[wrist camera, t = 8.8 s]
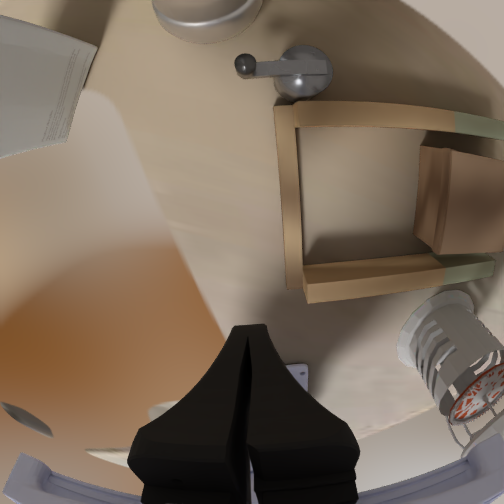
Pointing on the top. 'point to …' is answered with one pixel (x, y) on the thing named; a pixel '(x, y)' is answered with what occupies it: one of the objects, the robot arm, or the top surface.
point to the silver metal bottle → (206, 18)
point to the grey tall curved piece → (455, 361)
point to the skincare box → (38, 84)
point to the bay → (379, 269)
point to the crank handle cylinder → (291, 72)
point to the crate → (459, 202)
